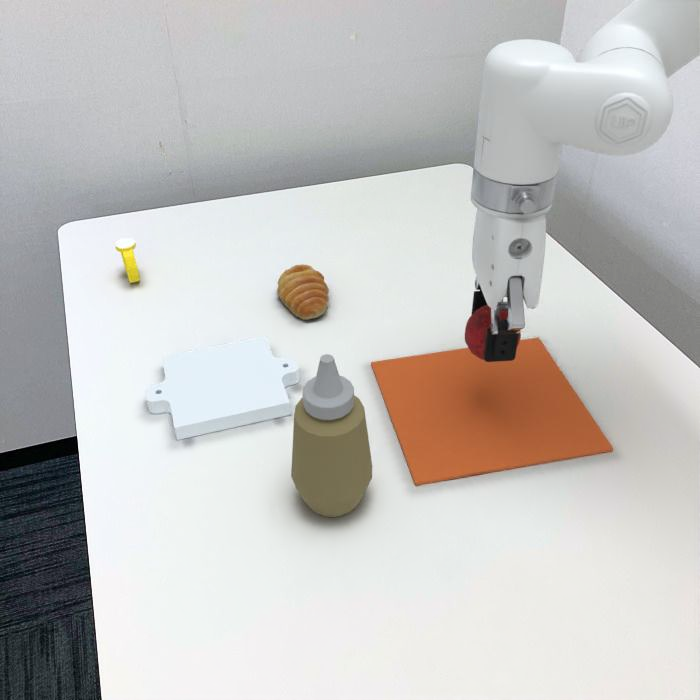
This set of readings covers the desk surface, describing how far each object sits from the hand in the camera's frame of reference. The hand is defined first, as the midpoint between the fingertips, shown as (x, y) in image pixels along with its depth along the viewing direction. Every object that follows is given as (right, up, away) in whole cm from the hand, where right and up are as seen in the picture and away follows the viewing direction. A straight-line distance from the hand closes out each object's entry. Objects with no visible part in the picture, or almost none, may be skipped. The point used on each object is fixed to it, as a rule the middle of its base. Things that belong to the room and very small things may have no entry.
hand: (492, 338), depth 79 cm
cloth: (0, -8, +6) cm, 10 cm away
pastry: (-21, +6, +23) cm, 32 cm away
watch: (-47, +9, +28) cm, 56 cm away
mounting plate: (-30, -6, +9) cm, 32 cm away
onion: (0, -2, +2) cm, 3 cm away
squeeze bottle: (-17, -16, -4) cm, 24 cm away
